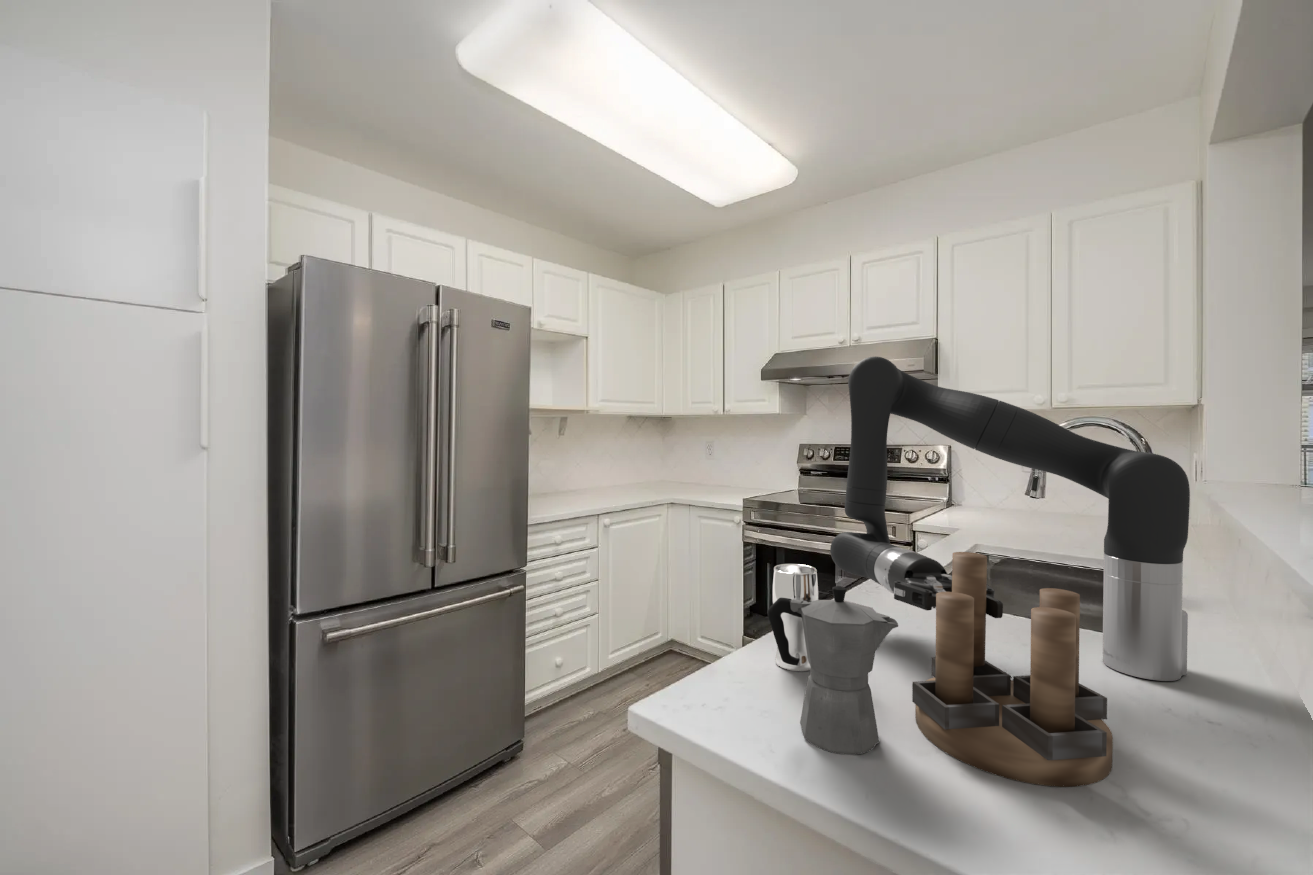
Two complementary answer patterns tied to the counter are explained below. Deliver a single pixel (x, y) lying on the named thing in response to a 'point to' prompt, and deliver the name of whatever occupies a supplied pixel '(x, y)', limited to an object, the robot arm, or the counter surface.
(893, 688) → the counter surface
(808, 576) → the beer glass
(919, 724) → the stool seat
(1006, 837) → the counter surface
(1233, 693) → the counter surface
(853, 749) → the coffeepot
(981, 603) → the loose leg
